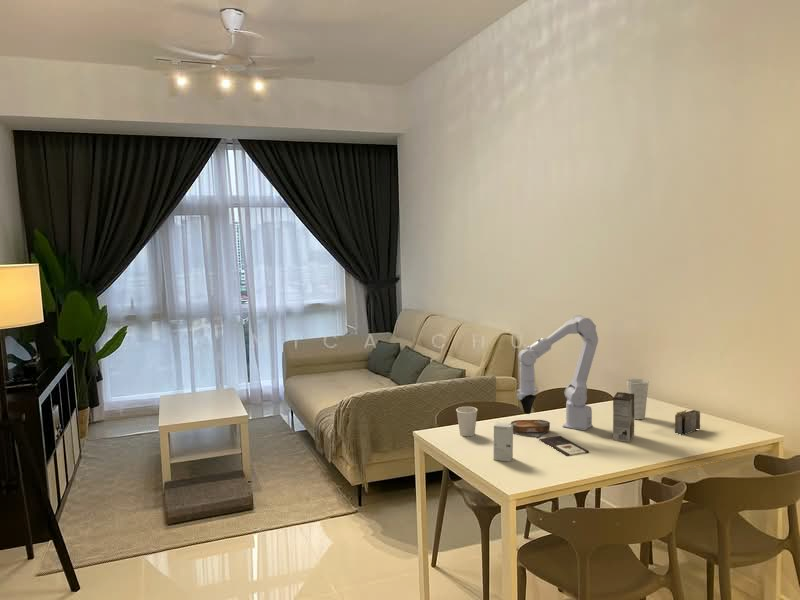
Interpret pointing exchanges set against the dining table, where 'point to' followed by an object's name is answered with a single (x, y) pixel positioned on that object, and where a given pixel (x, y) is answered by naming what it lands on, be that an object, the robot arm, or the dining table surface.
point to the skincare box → (503, 441)
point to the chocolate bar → (564, 445)
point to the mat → (530, 434)
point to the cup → (638, 396)
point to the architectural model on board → (687, 421)
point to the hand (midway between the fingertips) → (527, 413)
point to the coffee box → (623, 416)
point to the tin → (530, 426)
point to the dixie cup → (467, 420)
